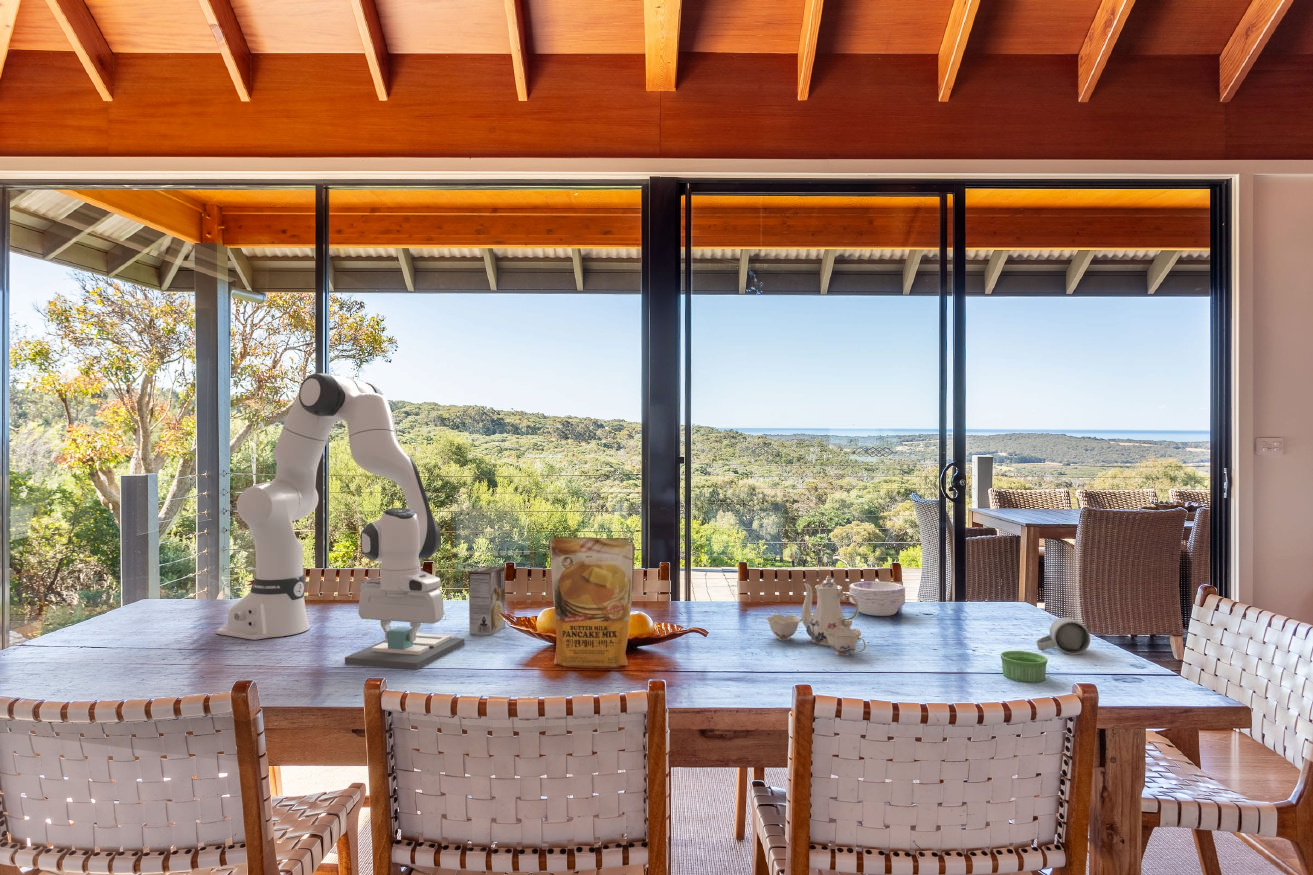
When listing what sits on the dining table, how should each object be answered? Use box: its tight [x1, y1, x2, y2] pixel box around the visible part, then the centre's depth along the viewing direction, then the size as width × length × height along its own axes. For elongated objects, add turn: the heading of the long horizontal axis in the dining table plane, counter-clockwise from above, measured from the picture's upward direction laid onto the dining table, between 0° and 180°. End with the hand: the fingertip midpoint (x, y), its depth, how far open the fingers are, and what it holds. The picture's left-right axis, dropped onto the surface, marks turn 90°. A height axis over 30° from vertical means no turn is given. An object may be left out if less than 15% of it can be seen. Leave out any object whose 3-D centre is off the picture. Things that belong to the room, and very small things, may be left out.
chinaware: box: [765, 575, 867, 656], centre depth 191 cm, size 28×17×17 cm, turn 47°
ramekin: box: [1000, 650, 1049, 684], centre depth 165 cm, size 9×9×4 cm
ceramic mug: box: [1035, 617, 1091, 656], centre depth 186 cm, size 11×8×8 cm
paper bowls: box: [849, 581, 906, 617], centre depth 224 cm, size 15×15×8 cm
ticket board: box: [344, 632, 466, 671], centre depth 183 cm, size 18×21×2 cm
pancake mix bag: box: [548, 536, 636, 669], centre depth 175 cm, size 7×19×28 cm, turn 85°
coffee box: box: [468, 565, 506, 636], centre depth 205 cm, size 9×6×16 cm
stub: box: [372, 626, 429, 655], centre depth 181 cm, size 12×4×5 cm, turn 75°
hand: (400, 640), depth 181 cm, fingers closed on stub, 4 cm apart
